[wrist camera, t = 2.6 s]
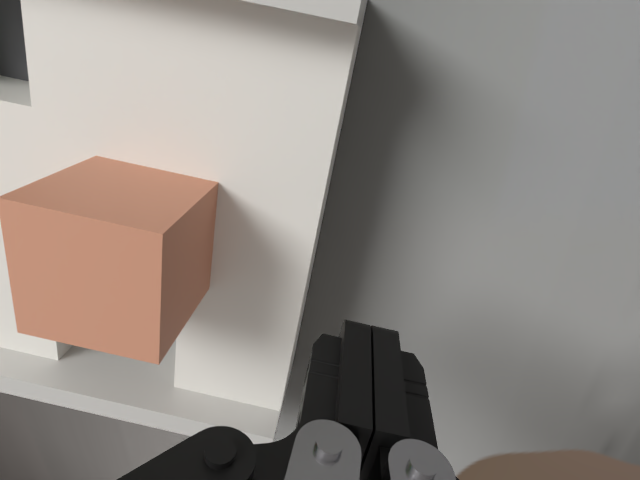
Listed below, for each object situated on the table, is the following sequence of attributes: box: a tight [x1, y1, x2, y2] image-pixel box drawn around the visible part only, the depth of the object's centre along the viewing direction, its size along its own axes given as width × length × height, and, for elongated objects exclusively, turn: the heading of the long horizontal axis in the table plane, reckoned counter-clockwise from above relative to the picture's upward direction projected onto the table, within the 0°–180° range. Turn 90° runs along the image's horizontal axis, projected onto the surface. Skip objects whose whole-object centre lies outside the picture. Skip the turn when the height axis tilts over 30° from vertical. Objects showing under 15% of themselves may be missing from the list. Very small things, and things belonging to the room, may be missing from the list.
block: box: [0, 156, 219, 365], centre depth 14 cm, size 4×4×4 cm
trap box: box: [0, 0, 368, 444], centre depth 18 cm, size 23×18×6 cm
